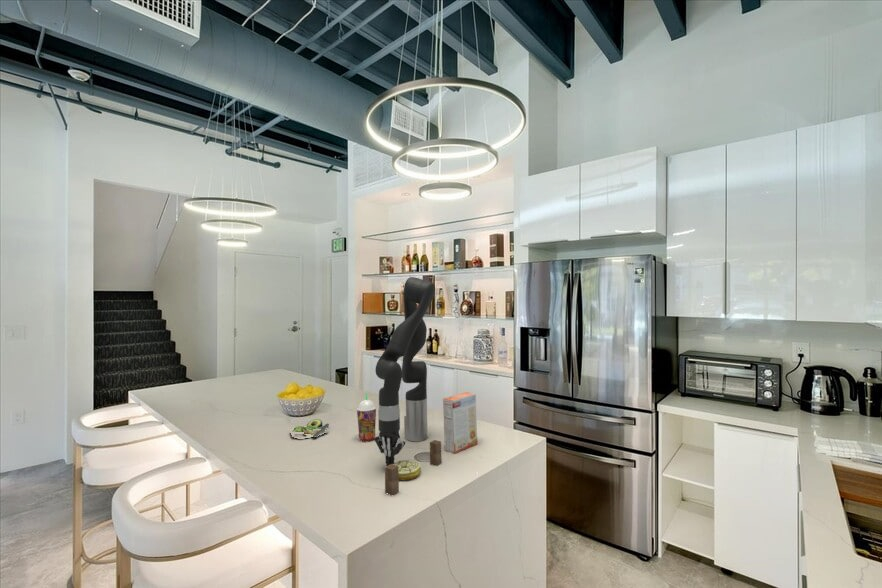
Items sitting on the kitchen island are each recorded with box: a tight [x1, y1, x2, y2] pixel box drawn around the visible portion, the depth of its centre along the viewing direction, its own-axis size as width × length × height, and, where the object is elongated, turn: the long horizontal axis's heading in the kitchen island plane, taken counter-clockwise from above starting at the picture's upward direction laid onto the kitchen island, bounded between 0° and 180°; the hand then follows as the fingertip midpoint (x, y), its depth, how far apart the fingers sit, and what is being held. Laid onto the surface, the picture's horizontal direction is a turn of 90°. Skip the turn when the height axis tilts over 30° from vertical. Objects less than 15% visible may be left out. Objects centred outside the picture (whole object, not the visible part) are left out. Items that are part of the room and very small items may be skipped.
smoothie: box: [356, 392, 377, 442], centre depth 174 cm, size 8×8×20 cm
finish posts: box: [384, 439, 443, 496], centre depth 136 cm, size 3×28×8 cm, turn 147°
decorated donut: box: [392, 459, 422, 481], centre depth 138 cm, size 10×11×4 cm
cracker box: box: [442, 391, 478, 454], centre depth 162 cm, size 14×6×21 cm, turn 134°
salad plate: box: [292, 418, 330, 438], centre depth 183 cm, size 19×18×5 cm
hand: (389, 465), depth 142 cm, fingers closed
